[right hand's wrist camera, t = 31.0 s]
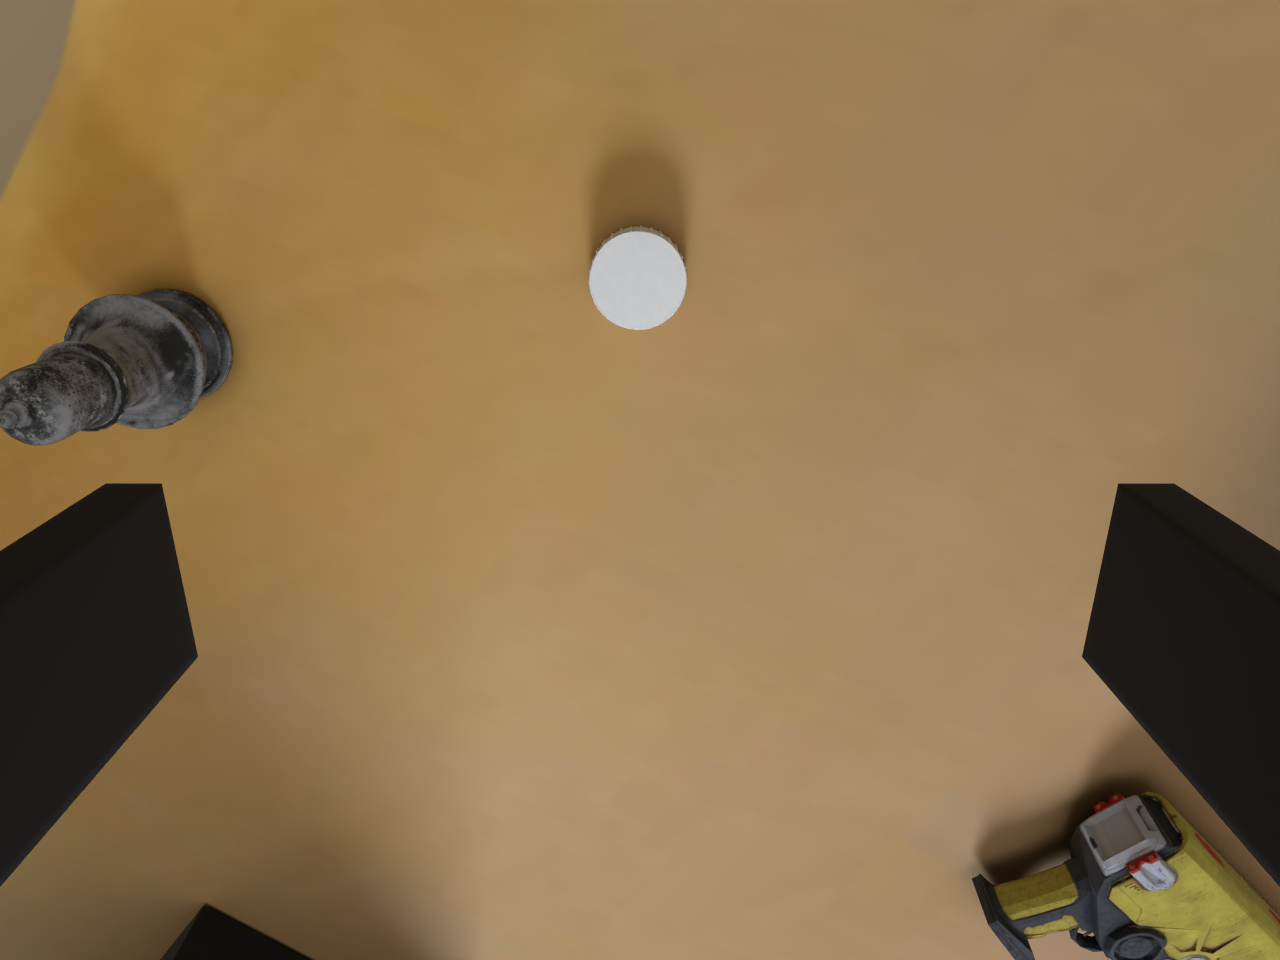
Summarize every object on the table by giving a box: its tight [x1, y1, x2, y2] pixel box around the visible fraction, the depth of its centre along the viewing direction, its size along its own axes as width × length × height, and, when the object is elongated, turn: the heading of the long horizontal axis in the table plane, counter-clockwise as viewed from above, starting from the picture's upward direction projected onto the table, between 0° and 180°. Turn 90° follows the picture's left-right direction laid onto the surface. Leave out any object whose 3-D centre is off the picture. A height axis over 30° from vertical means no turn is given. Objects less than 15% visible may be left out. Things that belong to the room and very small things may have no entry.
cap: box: [588, 225, 688, 330], centre depth 39 cm, size 4×4×2 cm
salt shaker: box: [0, 289, 232, 445], centre depth 35 cm, size 6×6×12 cm
